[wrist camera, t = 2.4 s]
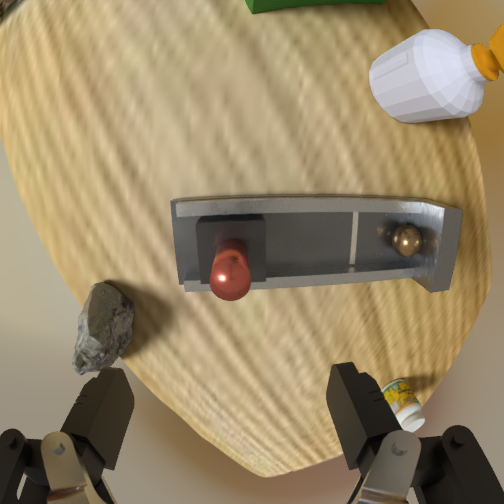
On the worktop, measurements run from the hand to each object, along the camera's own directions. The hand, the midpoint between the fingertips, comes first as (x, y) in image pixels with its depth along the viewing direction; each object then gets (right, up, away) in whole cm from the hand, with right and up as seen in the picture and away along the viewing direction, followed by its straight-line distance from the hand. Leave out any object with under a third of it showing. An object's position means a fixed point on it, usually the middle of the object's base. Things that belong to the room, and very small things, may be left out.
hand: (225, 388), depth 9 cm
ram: (-1, +6, +18) cm, 19 cm away
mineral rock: (-19, -4, +23) cm, 30 cm away
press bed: (+8, +7, +20) cm, 23 cm away
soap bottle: (+18, +25, +15) cm, 34 cm away
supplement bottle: (+26, -19, +30) cm, 44 cm away
